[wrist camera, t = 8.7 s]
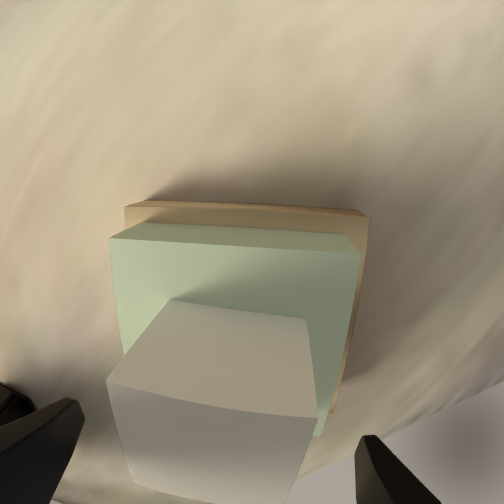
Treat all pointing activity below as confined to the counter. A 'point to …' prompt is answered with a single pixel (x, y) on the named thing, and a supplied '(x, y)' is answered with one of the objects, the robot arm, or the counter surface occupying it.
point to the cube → (216, 404)
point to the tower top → (241, 282)
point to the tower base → (264, 218)
